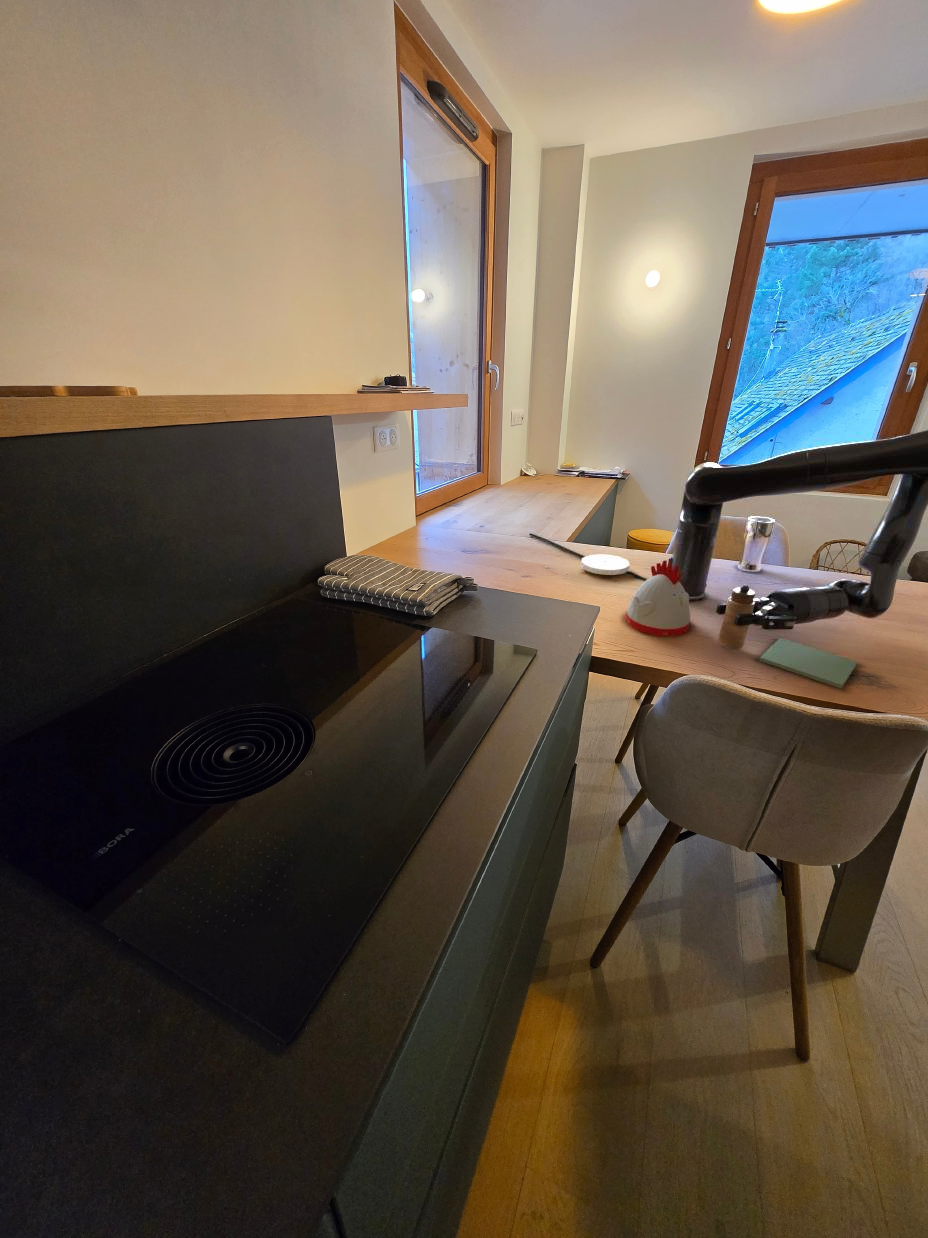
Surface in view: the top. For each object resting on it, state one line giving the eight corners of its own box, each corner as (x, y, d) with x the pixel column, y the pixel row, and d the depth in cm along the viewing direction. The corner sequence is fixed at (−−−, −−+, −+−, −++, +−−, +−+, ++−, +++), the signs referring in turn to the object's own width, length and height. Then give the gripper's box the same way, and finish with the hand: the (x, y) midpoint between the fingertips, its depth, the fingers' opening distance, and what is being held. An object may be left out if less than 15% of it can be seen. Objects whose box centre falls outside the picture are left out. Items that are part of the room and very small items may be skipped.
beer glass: (731, 565, 150) (742, 516, 143) (752, 564, 150) (765, 515, 144) (744, 573, 144) (757, 522, 137) (767, 572, 144) (781, 522, 138)
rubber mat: (758, 660, 100) (759, 657, 99) (778, 640, 107) (779, 637, 107) (841, 688, 90) (842, 685, 90) (856, 664, 98) (857, 661, 97)
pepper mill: (714, 643, 104) (728, 585, 98) (723, 635, 107) (737, 578, 101) (738, 651, 101) (754, 591, 95) (746, 643, 104) (762, 585, 98)
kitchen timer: (658, 640, 108) (669, 576, 101) (613, 616, 119) (621, 557, 112) (701, 627, 113) (715, 565, 107) (655, 605, 124) (665, 548, 118)
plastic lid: (579, 561, 155) (579, 553, 154) (624, 562, 153) (625, 555, 152) (582, 577, 142) (583, 568, 141) (632, 579, 141) (633, 570, 140)
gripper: (774, 577, 108) (707, 585, 105) (832, 603, 96) (758, 613, 92) (765, 608, 111) (700, 616, 108) (820, 637, 99) (748, 648, 95)
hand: (727, 615), depth 100 cm, fingers closed on pepper mill, 5 cm apart
